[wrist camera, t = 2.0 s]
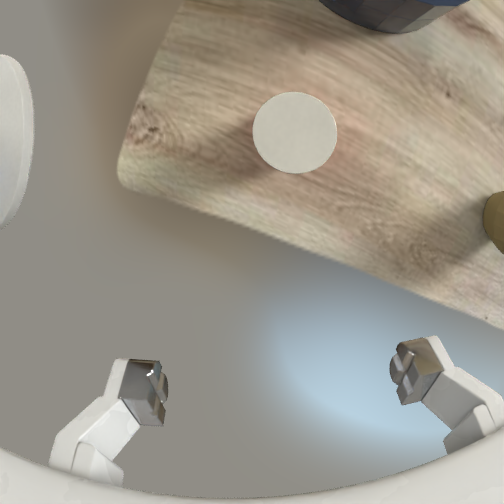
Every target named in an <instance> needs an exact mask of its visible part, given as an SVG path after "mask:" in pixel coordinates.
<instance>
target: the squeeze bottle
mask: <svg viewBox="0 0 504 504" xmlns="http://www.w3.org/2000/svg"><path fill="white" fill-rule="evenodd" d="M483 225H484V228H485V231H486V233H487V234H488V236H489V237H490V238H491V240H492V241H493V243H494V244H495V246H496V247H497V248H498V249H499V250H500V251H501V252H502V253H503V254H504V191H502V192H498V193H495V194H493V195H492V196H491V197H490V198H489V199H488V201H487V203H486V205H485V208H484V213H483Z"/></svg>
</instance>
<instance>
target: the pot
mask: <svg viewBox="0 0 504 504" xmlns="http://www.w3.org/2000/svg"><path fill="white" fill-rule="evenodd" d="M319 1H320V2H321V3H323V4H324V5H325V6H326V7H328V8H329V9H331V10H332V11H333V12H335V13H336V14H338V15H340V16H342V17H343V18H345V19H347V20H349V21H351V22H353V23H355V24H358V25H360V26H363V27H366V28H369V29H372V30H376V31H381V32H387V33H408V32H412V31H416V30H419V29H420V28H422V27H424V26H426V25H428V24H429V23H431V22H433V21H434V20H436V19H438V18H440V17H441V16H443V15H445V14H446V13H448V12H450V11H452V10H453V9H455V8H457V7H459V6H460V5H462V4H464V3H466V2H468V1H470V0H319Z"/></svg>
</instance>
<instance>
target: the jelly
mask: <svg viewBox="0 0 504 504" xmlns="http://www.w3.org/2000/svg"><path fill="white" fill-rule="evenodd" d="M253 140H254V144H255V147H256V149H257V151H258V153H259V154H260V156H261V157H262V158H263V159H264V160H265V161H266V162H267V163H268V164H269V165H270V166H272V167H273V168H275V169H277V170H279V171H282V172H286V173H291V174H301V173H306V172H310V171H313V170H315V169H317V168H318V167H320V166H321V165H323V164H324V163H325V162H326V161H327V160H328V158H329V157H330V156H331V154H332V152H333V150H334V148H335V145H336V140H337V128H336V123H335V120H334V118H333V116H332V114H331V112H330V111H329V109H328V108H327V107H326V106H325V105H324V104H323V103H322V102H321V101H320V100H318V99H317V98H315V97H313V96H311V95H309V94H305V93H301V92H286V93H281V94H278V95H276V96H274V97H272V98H270V99H269V100H268V101H266V102H265V103H264V104H263V105H262V107H261V108H260V109H259V111H258V112H257V114H256V116H255V119H254V123H253Z"/></svg>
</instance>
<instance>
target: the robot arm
mask: <svg viewBox="0 0 504 504" xmlns="http://www.w3.org/2000/svg"><path fill="white" fill-rule="evenodd" d="M396 351H397V354H396V355H395V356H394V357H392V359H391V362H390V375H391V378H392V381H393V382H394V383H396V384H397V385H398V388H397V394H398V396H399V399H400V401H401V404H402V405H406V404H410V403H414V402H418V401H421V402H422V403H423V404H424V405H425V406H426V407H427V408H428V409H430V410H431V411H432V412H433V413H434V414H435V415H436V416H437V417H438V418H439V419H441V420H442V421H443V422H444V423H445V424H446V425H447V426H448V427H449V428H450V429H451V430H452V431H451V432H450V433H449V434H448V435H447V436H446V437H445V439H444V441H443V442H444V445H445V448H446V451H447V454H448V455H446V456H443V457H441V458H438V459H436V460H433V461H431V462H428V463H425V464H423V465H420V466H417V467H414V468H412V469H409V470H405V471H402V472H400V473H396V474H393V475H389V476H386V477H382V478H379V479H375V480H371V481H367V482H364V483H359V484H355V485H350V486H345V487H340V488H335V489H330V490H324V491H318V492H311V493H303V494H295V495H285V496H274V497H257V498H205V497H189V496H177V495H168V494H159V493H152V492H145V491H139V490H133V489H128V488H123V487H122V483H123V476H124V472H123V470H122V469H121V468H119V466H117V465H116V464H115V463H113V462H112V460H113V459H114V458H115V457H116V455H117V454H118V453H119V452H120V451H121V449H122V448H123V447H124V446H125V444H126V443H127V442H128V441H129V440H130V438H131V437H132V436H133V435H134V434H135V432H136V431H137V430H138V429H139V428H140V425H148V426H163V424H164V417H165V409H164V407H163V405H162V404H163V403H164V402H165V401H166V400H167V397H168V382H167V378H166V376H165V374H163V373H162V372H161V369H162V366H161V364H160V362H159V361H151V360H136V359H123V358H117V359H116V360H115V361H114V363H113V366H112V369H111V372H110V375H109V378H108V381H107V385H106V388H105V391H104V394H103V397H102V396H99V397H98V398H97V399H96V400H94V401H93V403H91V404H90V405H89V406H88V407H87V408H86V409H84V411H82V412H81V413H80V414H79V415H78V416H77V417H76V418H75V419H73V420H72V421H71V422H70V423H69V424H68V425H67V426H66V427H64V428H63V429H62V430H61V431H60V432H59V433H58V434H57V435H56V438H55V441H54V445H53V448H52V452H51V455H50V459H49V463H48V466H45V465H42V464H39V463H37V462H34V461H32V460H29V459H27V458H25V457H22V456H20V455H17V454H15V453H13V452H11V451H8V450H6V449H4V448H2V447H0V504H504V401H503V399H502V397H501V395H500V394H499V393H497V392H496V391H494V390H493V389H491V388H490V387H488V386H487V385H485V384H483V383H482V382H480V381H479V380H477V379H476V378H474V377H473V376H471V375H470V374H468V373H467V372H465V371H464V370H462V369H461V368H459V367H456V368H455V366H454V365H453V363H452V361H451V359H450V357H449V355H448V354H447V352H446V350H445V348H444V346H443V345H442V343H441V341H440V340H439V338H438V337H437V336H436V335H435V336H430V337H425V338H419V339H414V340H409V341H405V342H401V343H399V344H398V346H397V348H396Z"/></svg>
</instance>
